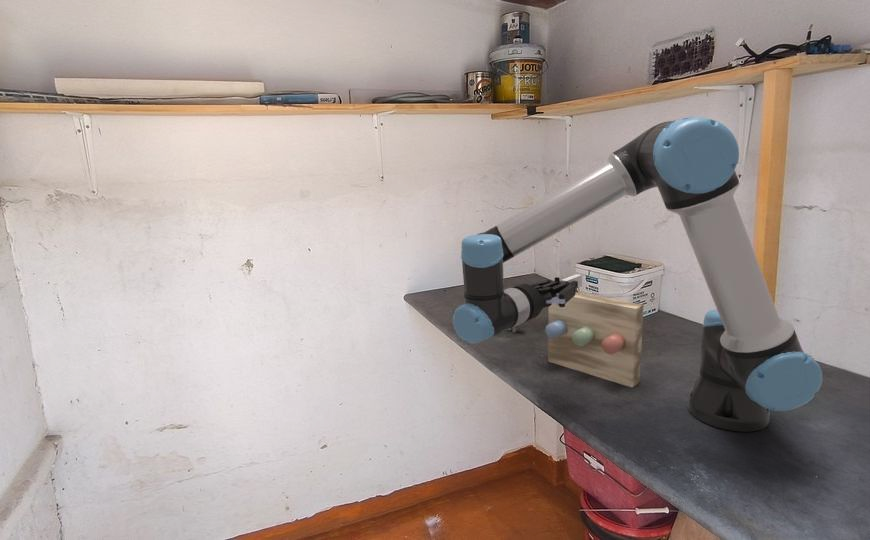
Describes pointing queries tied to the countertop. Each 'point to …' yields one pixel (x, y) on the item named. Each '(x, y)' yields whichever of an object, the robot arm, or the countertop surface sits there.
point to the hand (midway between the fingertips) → (579, 280)
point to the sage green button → (583, 336)
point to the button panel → (599, 337)
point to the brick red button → (613, 343)
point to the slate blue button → (556, 329)
